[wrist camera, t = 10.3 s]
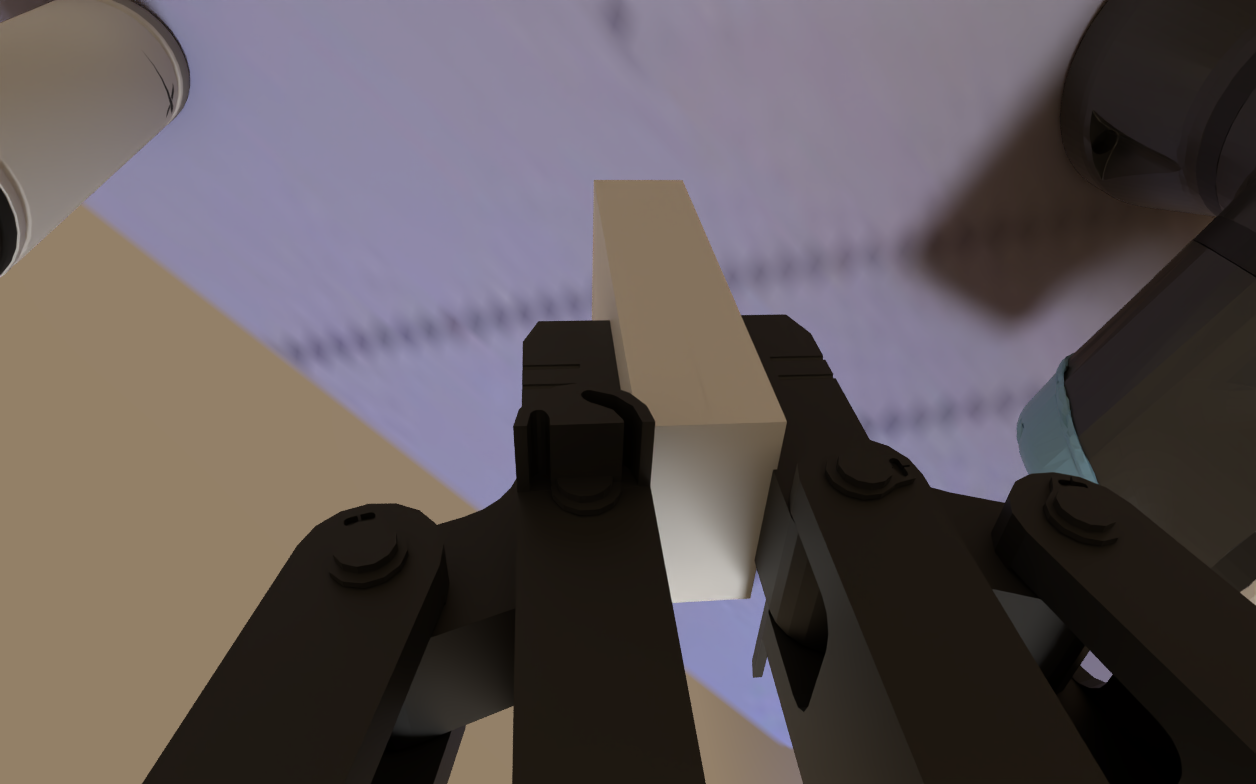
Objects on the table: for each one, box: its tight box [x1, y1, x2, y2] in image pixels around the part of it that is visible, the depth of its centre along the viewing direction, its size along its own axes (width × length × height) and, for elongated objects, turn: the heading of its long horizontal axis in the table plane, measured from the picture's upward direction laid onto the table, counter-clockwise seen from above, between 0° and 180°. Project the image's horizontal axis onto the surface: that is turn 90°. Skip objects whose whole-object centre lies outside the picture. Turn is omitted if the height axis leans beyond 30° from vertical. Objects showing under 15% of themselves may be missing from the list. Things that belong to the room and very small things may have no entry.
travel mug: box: [0, 0, 190, 277], centre depth 28 cm, size 6×7×20 cm
